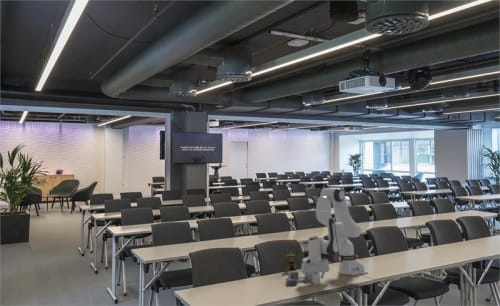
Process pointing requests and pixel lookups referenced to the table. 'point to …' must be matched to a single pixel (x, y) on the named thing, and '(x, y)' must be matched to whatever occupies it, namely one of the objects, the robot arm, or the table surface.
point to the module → (315, 278)
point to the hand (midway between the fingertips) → (315, 278)
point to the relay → (291, 282)
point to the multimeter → (291, 261)
